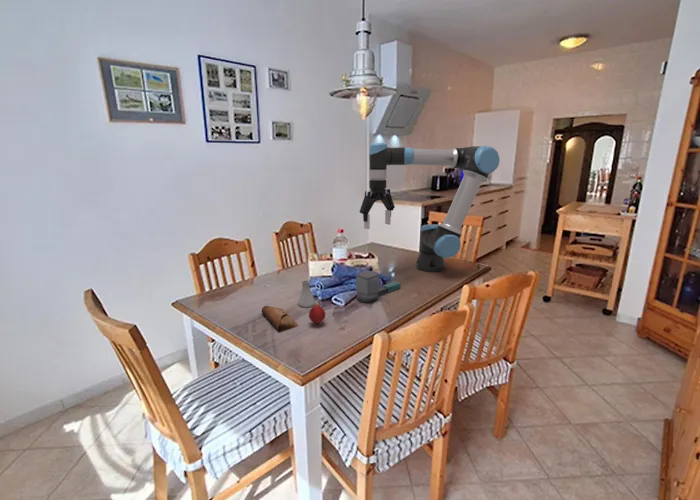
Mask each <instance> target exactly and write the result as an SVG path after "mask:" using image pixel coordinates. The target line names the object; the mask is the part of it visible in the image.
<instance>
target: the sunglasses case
mask: <svg viewBox="0 0 700 500" xmlns="http://www.w3.org/2000/svg"><path fill="white" fill-rule="evenodd" d="M261 313H262V315H263V316H264V317H265V318H266V319H267V320H268V321H269V322H270V323H271V324H272V326H274V328H275V329H276V330H277V331H278V332H280V333H282V332H285V331H288V330H291V329H294V328H297V327H299V324H298V323H297V322H296V321H295V319H293V317H291V316H290V314H289V313H288V312H287V311H285V310H284V309H283V308H279V307H275V306H270V305H264V306H263V307H262V309H261Z"/></svg>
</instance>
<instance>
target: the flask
mask: <svg viewBox="0 0 700 500" xmlns="http://www.w3.org/2000/svg"><path fill="white" fill-rule="evenodd" d="M310 283H311V281H310V280H309V279H305V280H302V281H301V284H302V286H301V287H302V288H301V292H300V296H299V298H298V301H297V305H298V306H299V307H301V308H312V307H314V306H315V305H316V304H317V302H316V300H315V297H314V295H313V294H312V293H313V292H312V291H311V287H310Z"/></svg>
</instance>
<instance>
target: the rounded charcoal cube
mask: <svg viewBox="0 0 700 500" xmlns="http://www.w3.org/2000/svg"><path fill="white" fill-rule="evenodd" d="M379 276H380V275H379V274H378V273H376V272H373V271H370V270H365V271H362V272H359V273H356V274H355V278H356V279H355V285H356V287H355V288H356V289H355V290H356V294H357V293H360V294H362V295H365V296H370V295H373V294H375V293H378V292H379V288H380V287H379V286H380V285H379V283H380V282H379V281H380V280H379V278H380V277H379Z"/></svg>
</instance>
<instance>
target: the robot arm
mask: <svg viewBox="0 0 700 500" xmlns="http://www.w3.org/2000/svg"><path fill="white" fill-rule="evenodd" d="M368 152H369V154H368V156H369V158H368V159H369V160H368V161H369V179H370V180H369V182H368V184H369V189H370V191H368V190H367V191H366V190H365V191H364V197H363V200H362V204H361V206H360V208H359V213H360V214H362V218H363V219H362V221H363V224H364V225H363V229H366V230H370V226H371V225H370V222H371V221H370V219H371V217H370V211H371V209H372V208H373V206H374V205H375V203H376V202H379V201H381V203H382V204H383V206H384V207H385V211H384V212H385V213H384V214H385V215H384V217H385V218H384V220H385V221H384V224H385V225H391V221H392V220H391V218H392V212H393V210H394V209H395V203H394V200H393V198H392V194H391V189H390V188H389V189H388V188H387V180H386V179H387V173H388V172H387V171H388V170H387V166H406V165H407V166H408V165H412V166H413V165H415V166H417V165H419V166H439V167H440V166H445V167H446V166H447V167H449V168H451V169H459V170H462V173H463V176H462V177H463V178H462V179H461V181H460V184H459V187H458V188H457V191H456V193H455V195H454V197H453V200H452V202H451V204H450V207H449V208H448V211H447V213H446V215H445V218H444V220H443V222H441V223H439V224H434V223H432V224H430V223H429V224H423V225H422V226H421V227H420V231H419V232H420V236H419V237H420V238H419V242H420V243H419V254H418V257H417V260H416V263H415V267H416V269H418V270H419V271H423V272H428V273H429V272H431V273H434V272H442V271H444V270H445V269H446V261H445V258H446V259H448V258H452V257H454V256H456V255H457V254H458V253H459V251H460V250H461V245H462V243H461V240H460V238H461V236H462V231H461V229H462V226H463V224H464V222H465V219H467V215H468V213H469V211H470V209H471V207H472V204H473V202H474V200H475V198H476V195H477V194H478V191H479V190H480V187H481V185H482V182H484V181H487V180H488V178H489V175H490V174H491V173H493V172H495V171H496V170H497V169H498V167H499V165H500V155H499V152H498V151H497V149H496V148H494V147H493V146H489V145H488V146H487V145H480V146H477V145H476V146H473V145H472V146H466V147H465V146H464V147H452V148H451V149H440V148H439V149H433V148H412V147H408V146H402V147H401V146H400V147H390V146H389V147H388V144H387V142H372V143H370V145H369V151H368Z"/></svg>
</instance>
